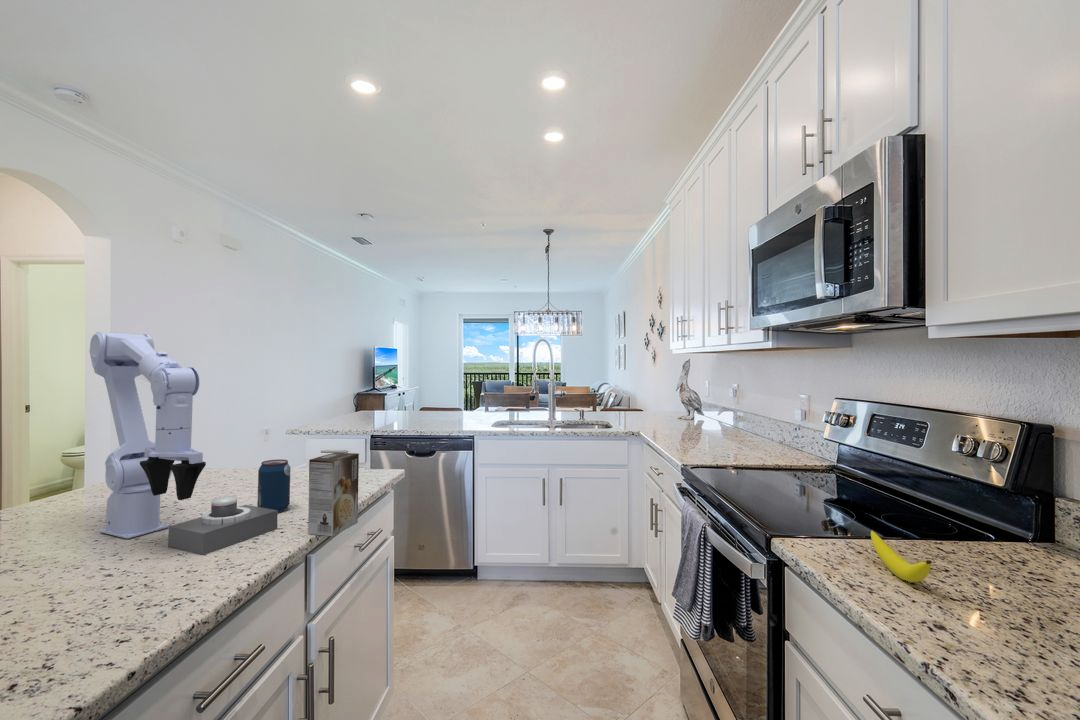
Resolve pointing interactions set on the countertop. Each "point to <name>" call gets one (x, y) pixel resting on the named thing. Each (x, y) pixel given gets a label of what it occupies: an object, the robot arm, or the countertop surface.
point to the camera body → (221, 529)
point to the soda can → (274, 485)
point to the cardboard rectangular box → (333, 493)
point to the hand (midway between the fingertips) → (171, 496)
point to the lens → (224, 506)
